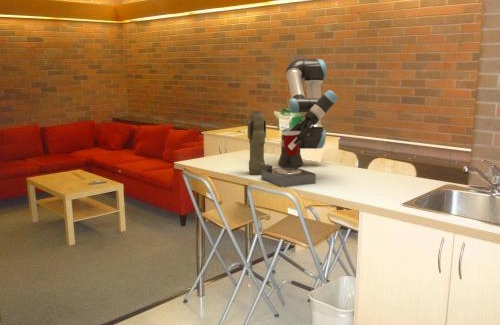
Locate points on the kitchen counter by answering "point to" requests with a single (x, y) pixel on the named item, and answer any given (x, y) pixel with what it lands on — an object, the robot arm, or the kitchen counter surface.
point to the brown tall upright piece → (256, 142)
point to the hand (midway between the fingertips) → (285, 146)
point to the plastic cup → (287, 139)
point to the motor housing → (287, 176)
